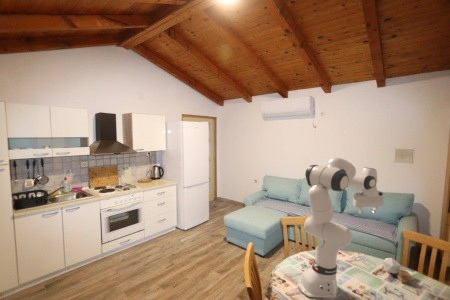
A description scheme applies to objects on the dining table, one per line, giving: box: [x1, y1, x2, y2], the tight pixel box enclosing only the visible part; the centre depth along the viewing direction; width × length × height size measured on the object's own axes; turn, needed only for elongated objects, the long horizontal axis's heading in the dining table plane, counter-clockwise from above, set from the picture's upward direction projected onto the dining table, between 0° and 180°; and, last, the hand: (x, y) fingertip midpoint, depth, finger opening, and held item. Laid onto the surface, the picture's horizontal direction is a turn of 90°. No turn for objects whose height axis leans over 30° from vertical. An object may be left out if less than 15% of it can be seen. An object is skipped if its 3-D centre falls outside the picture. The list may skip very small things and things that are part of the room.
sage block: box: [404, 269, 415, 281], centre depth 133 cm, size 4×4×4 cm
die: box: [382, 257, 402, 275], centre depth 138 cm, size 8×9×10 cm
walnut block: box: [396, 269, 413, 285], centre depth 130 cm, size 5×5×6 cm
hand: (367, 212), depth 145 cm, fingers open, 8 cm apart
